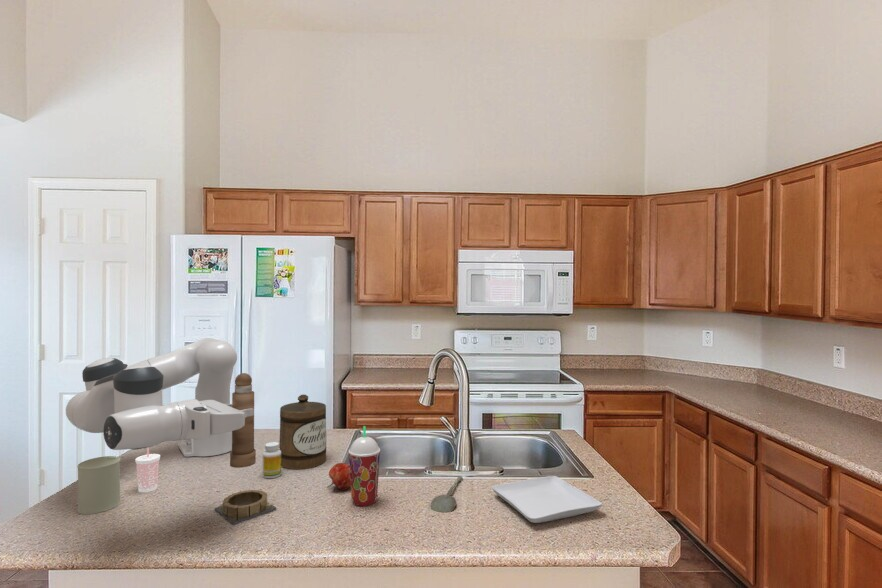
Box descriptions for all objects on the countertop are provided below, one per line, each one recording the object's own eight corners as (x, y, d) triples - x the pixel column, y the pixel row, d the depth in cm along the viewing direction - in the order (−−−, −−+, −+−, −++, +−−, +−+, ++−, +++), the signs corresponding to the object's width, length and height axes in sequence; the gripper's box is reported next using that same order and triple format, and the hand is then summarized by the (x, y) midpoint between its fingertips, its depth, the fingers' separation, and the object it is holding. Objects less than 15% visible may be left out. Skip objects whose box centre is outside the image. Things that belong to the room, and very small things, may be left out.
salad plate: (489, 496, 132) (489, 484, 132) (555, 485, 139) (555, 473, 139) (531, 532, 112) (531, 518, 112) (604, 517, 120) (604, 503, 120)
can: (127, 503, 127) (127, 458, 127) (87, 517, 119) (87, 469, 119) (110, 495, 131) (109, 452, 131) (70, 508, 123) (70, 462, 123)
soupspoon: (426, 515, 122) (451, 520, 121) (427, 502, 122) (452, 507, 120) (449, 479, 144) (471, 483, 142) (450, 468, 143) (471, 472, 141)
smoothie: (385, 496, 131) (385, 423, 131) (372, 510, 123) (372, 432, 123) (356, 493, 133) (356, 421, 133) (342, 506, 125) (342, 429, 125)
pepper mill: (226, 463, 122) (226, 373, 122) (249, 457, 127) (249, 370, 127) (236, 469, 118) (236, 376, 118) (259, 463, 122) (260, 373, 122)
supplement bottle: (260, 474, 146) (260, 443, 146) (277, 470, 150) (277, 440, 150) (266, 480, 142) (266, 448, 142) (284, 476, 146) (284, 444, 146)
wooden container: (302, 473, 148) (302, 401, 148) (269, 464, 155) (269, 396, 155) (335, 458, 161) (335, 393, 161) (303, 451, 168) (303, 388, 168)
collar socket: (214, 510, 122) (214, 498, 122) (256, 497, 130) (256, 486, 130) (233, 525, 115) (233, 512, 115) (276, 509, 123) (276, 498, 123)
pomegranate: (329, 501, 133) (357, 481, 132) (314, 478, 134) (342, 458, 133) (339, 493, 140) (366, 474, 139) (326, 472, 141) (352, 452, 141)
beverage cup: (136, 495, 131) (136, 444, 131) (133, 488, 136) (133, 439, 136) (162, 489, 135) (162, 440, 135) (158, 483, 140) (158, 435, 140)
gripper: (174, 423, 120) (229, 414, 130) (205, 441, 106) (265, 429, 116) (174, 398, 120) (229, 390, 130) (205, 413, 106) (265, 403, 116)
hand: (246, 409), depth 123 cm, fingers closed on pepper mill, 5 cm apart
